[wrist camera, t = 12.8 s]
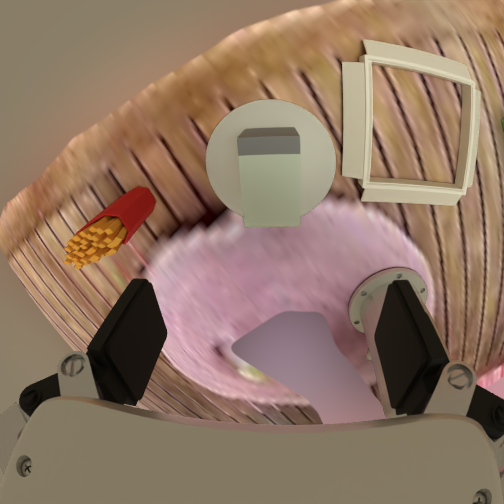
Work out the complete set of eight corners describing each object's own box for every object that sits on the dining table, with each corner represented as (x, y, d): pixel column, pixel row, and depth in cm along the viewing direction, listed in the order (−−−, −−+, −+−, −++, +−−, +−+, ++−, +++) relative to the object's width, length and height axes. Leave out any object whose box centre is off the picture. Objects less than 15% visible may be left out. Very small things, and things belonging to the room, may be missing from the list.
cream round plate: (331, 220, 32) (332, 222, 32) (214, 222, 34) (213, 224, 33) (335, 100, 25) (336, 100, 25) (201, 104, 27) (199, 104, 26)
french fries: (121, 229, 35) (73, 282, 25) (105, 205, 34) (52, 252, 23) (168, 203, 33) (124, 256, 23) (152, 175, 31) (99, 218, 21)
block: (295, 198, 31) (300, 226, 25) (250, 199, 31) (244, 227, 25) (294, 127, 27) (299, 135, 21) (245, 128, 27) (236, 137, 21)
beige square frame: (465, 205, 29) (473, 211, 27) (339, 199, 31) (343, 205, 29) (476, 70, 20) (486, 70, 18) (338, 37, 22) (343, 33, 20)
